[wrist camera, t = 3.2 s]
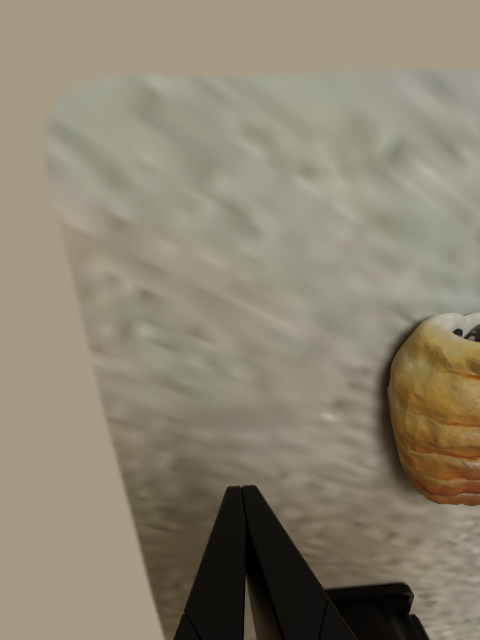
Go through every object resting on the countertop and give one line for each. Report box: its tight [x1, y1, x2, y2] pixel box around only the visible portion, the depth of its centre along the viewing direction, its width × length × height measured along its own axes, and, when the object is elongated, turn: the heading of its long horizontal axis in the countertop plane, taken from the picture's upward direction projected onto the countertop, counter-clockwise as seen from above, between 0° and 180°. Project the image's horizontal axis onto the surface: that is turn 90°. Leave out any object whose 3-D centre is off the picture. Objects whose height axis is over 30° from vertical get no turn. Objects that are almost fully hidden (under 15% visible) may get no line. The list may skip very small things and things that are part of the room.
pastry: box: [387, 311, 480, 506], centre depth 13 cm, size 9×7×4 cm
